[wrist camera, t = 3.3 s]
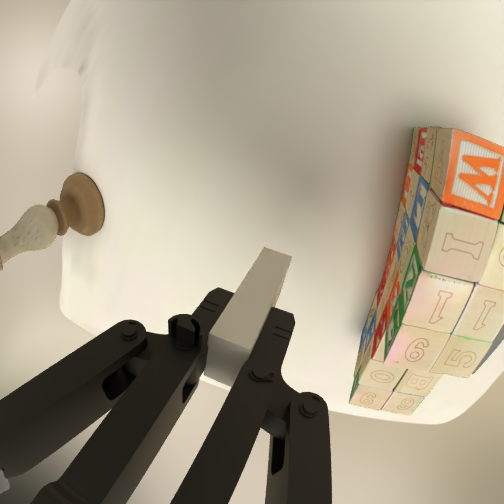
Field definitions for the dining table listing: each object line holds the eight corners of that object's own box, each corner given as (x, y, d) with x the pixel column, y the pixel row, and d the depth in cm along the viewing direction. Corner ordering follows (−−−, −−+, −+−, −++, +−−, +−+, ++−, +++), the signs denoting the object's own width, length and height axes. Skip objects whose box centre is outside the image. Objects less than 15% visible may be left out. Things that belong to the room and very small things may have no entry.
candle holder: (65, 167, 31) (-58, 228, 14) (104, 179, 29) (-43, 256, 12) (69, 223, 35) (-35, 292, 18) (106, 241, 34) (-10, 330, 17)
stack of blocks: (411, 346, 25) (406, 445, 15) (360, 334, 27) (336, 433, 18) (479, 145, 15) (562, 175, 5) (412, 124, 17) (454, 125, 7)
